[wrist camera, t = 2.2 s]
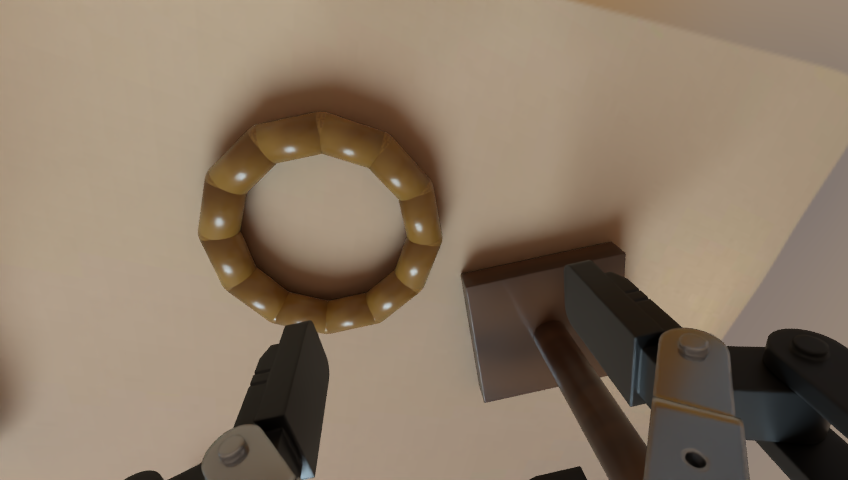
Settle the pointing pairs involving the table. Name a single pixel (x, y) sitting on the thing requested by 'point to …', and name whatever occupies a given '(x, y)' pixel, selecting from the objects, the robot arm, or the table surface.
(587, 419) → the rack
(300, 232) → the table surface
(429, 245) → the ring
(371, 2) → the table surface
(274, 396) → the robot arm
